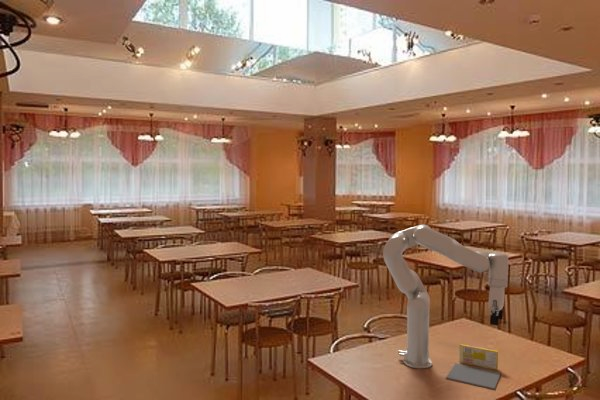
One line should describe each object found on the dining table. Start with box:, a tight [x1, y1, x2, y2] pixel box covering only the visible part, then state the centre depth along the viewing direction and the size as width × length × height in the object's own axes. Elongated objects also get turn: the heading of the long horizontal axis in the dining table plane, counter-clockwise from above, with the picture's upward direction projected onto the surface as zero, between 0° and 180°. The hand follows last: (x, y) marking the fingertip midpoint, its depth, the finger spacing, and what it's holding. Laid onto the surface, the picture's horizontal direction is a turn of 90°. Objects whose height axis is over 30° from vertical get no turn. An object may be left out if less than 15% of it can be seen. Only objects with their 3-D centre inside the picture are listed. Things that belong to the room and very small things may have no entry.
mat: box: [445, 363, 502, 391], centre depth 198 cm, size 19×17×1 cm
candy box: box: [458, 343, 499, 371], centre depth 209 cm, size 16×2×8 cm, turn 58°
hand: (496, 321), depth 200 cm, fingers open, 9 cm apart
